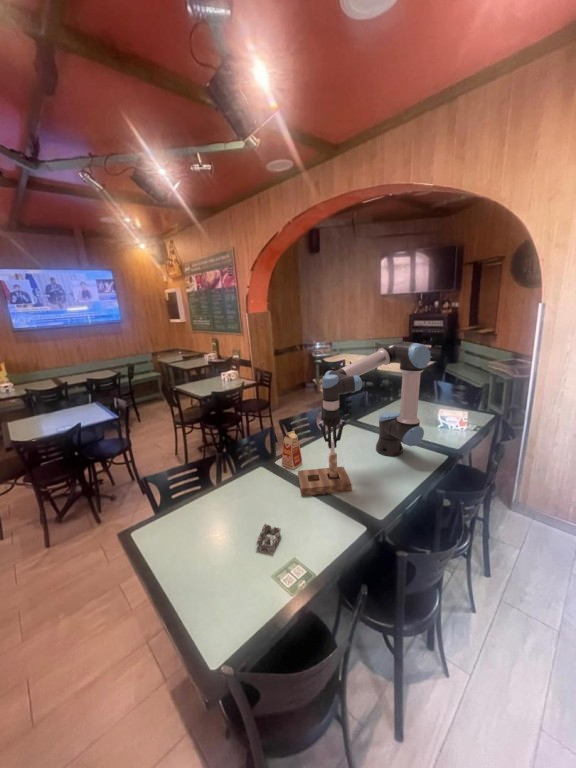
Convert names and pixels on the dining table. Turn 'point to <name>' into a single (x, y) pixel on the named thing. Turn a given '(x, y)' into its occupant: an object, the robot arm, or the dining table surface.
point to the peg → (333, 466)
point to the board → (323, 481)
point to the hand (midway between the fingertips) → (332, 453)
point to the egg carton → (268, 538)
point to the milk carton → (291, 451)
